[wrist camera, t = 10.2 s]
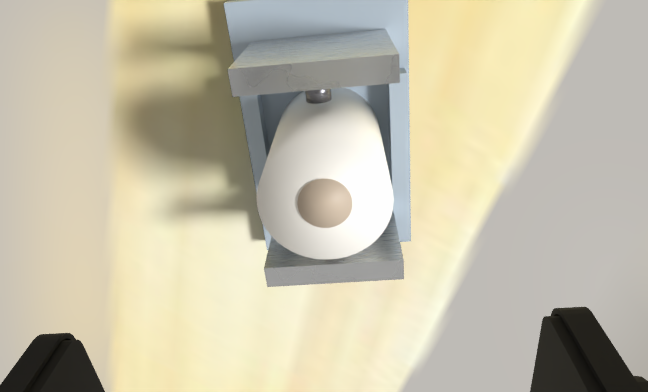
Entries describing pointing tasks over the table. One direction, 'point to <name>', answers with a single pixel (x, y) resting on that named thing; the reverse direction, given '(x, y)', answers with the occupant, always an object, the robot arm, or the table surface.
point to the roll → (326, 178)
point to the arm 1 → (315, 64)
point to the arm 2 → (337, 263)
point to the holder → (385, 99)
